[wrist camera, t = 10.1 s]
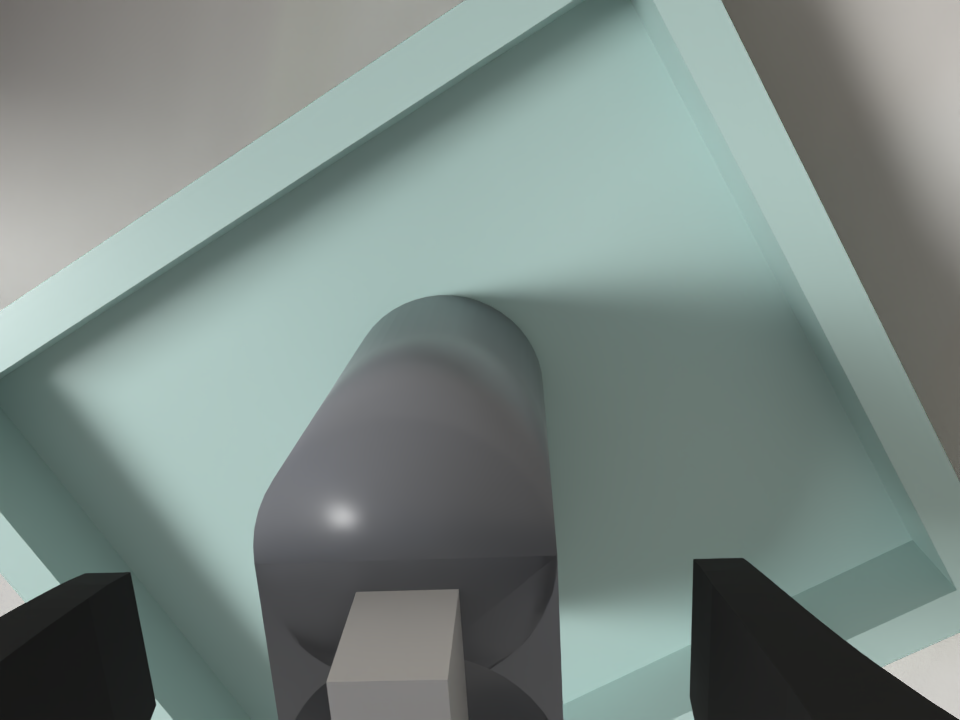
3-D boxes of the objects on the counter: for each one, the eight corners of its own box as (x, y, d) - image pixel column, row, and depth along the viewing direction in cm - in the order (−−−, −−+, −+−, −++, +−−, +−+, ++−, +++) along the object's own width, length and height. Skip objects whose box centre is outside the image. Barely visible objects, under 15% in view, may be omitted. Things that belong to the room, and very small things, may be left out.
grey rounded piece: (376, 617, 17) (269, 1006, 10) (341, 300, 15) (176, 487, 8) (551, 612, 17) (577, 1006, 9) (539, 290, 15) (558, 474, 8)
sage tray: (326, 824, 20) (300, 925, 17) (-47, 362, 17) (-143, 405, 14) (948, 532, 17) (1021, 605, 14) (633, -89, 14) (657, -129, 11)
